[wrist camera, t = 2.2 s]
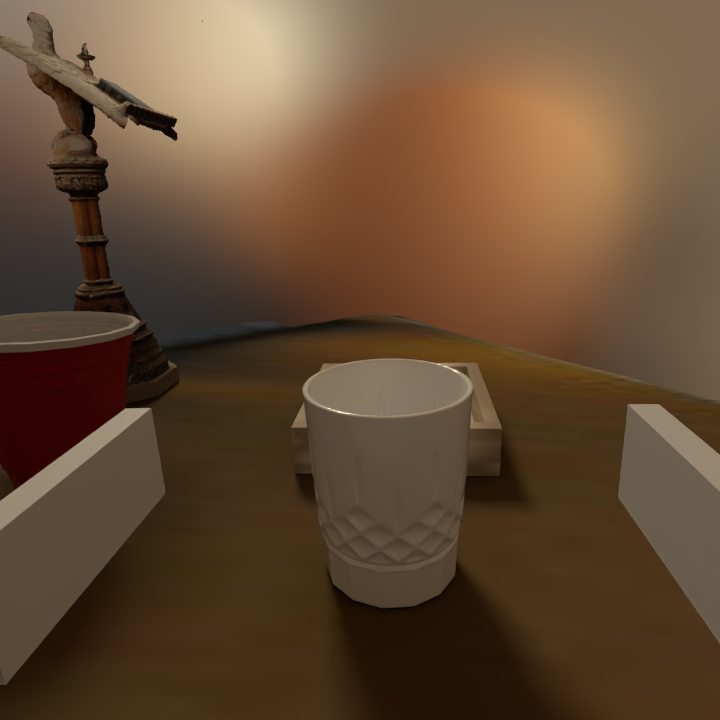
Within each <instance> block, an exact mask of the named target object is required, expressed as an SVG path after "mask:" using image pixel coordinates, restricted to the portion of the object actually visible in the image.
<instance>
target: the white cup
mask: <svg viewBox="0 0 720 720" xmlns="http://www.w3.org/2000/svg"><path fill="white" fill-rule="evenodd" d="M472 397H473V384H472V382H471V380H470V379H469V378H468V377H467V376H466V375H465V374H463V373H461V372H460V371H458V370H456V369H453V368H451V367H448V366H445V365H441V364H437V363H433V362H427V361H421V360H412V359H372V360H362V361H355V362H350V363H345V364H341V365H337V366H333V367H330V368H328V369H325V370H323V371H320V372H318V373H316V374H315V375H313V376H312V377H310V378H309V379H308V380H307V381H306V382H305V384H304V386H303V399H304V407H305V415H306V424H307V432H308V441H309V450H310V459H311V468H312V476H313V481H314V487H315V495H316V501H317V508H318V517H319V523H320V528H321V531H322V532H323V542H324V551H325V560H326V565H327V568H328V571H329V574H330V577H331V580H332V583H333V584H334V585H335V586H336V587H337V588H339V589H340V590H341V591H342V592H344V593H345V594H346V595H347V596H348V597H350V598H351V599H352V600H354V601H358V602H361V603H365V604H368V605H372V606H376V607H379V608H398V607H412V606H416V605H418V604H421V603H423V602H425V601H427V600H429V599H432V598H434V597H436V596H438V595H440V594H441V593H442V592H443V590H444V589H445V588H446V586H447V585H448V584H449V583H450V581H451V580H452V579H453V577H454V576H455V570H456V555H457V541H458V534H459V527H460V524H461V522H462V511H463V505H464V495H465V492H464V488H465V482H466V476H467V463H468V449H469V436H470V423H471V410H472Z"/></svg>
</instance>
